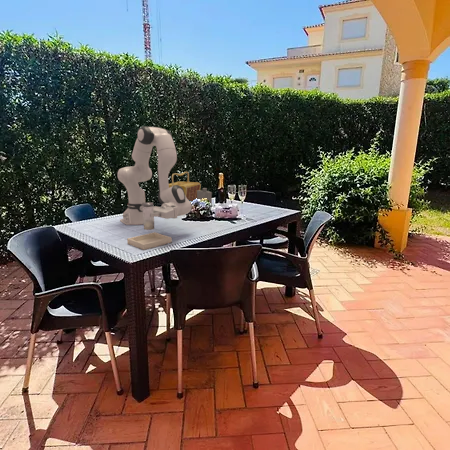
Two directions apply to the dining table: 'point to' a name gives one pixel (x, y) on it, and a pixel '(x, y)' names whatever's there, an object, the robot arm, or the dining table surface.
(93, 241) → the dining table surface
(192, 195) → the picnic basket
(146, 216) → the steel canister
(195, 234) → the dining table surface
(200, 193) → the hip flask
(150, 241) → the sand tray
